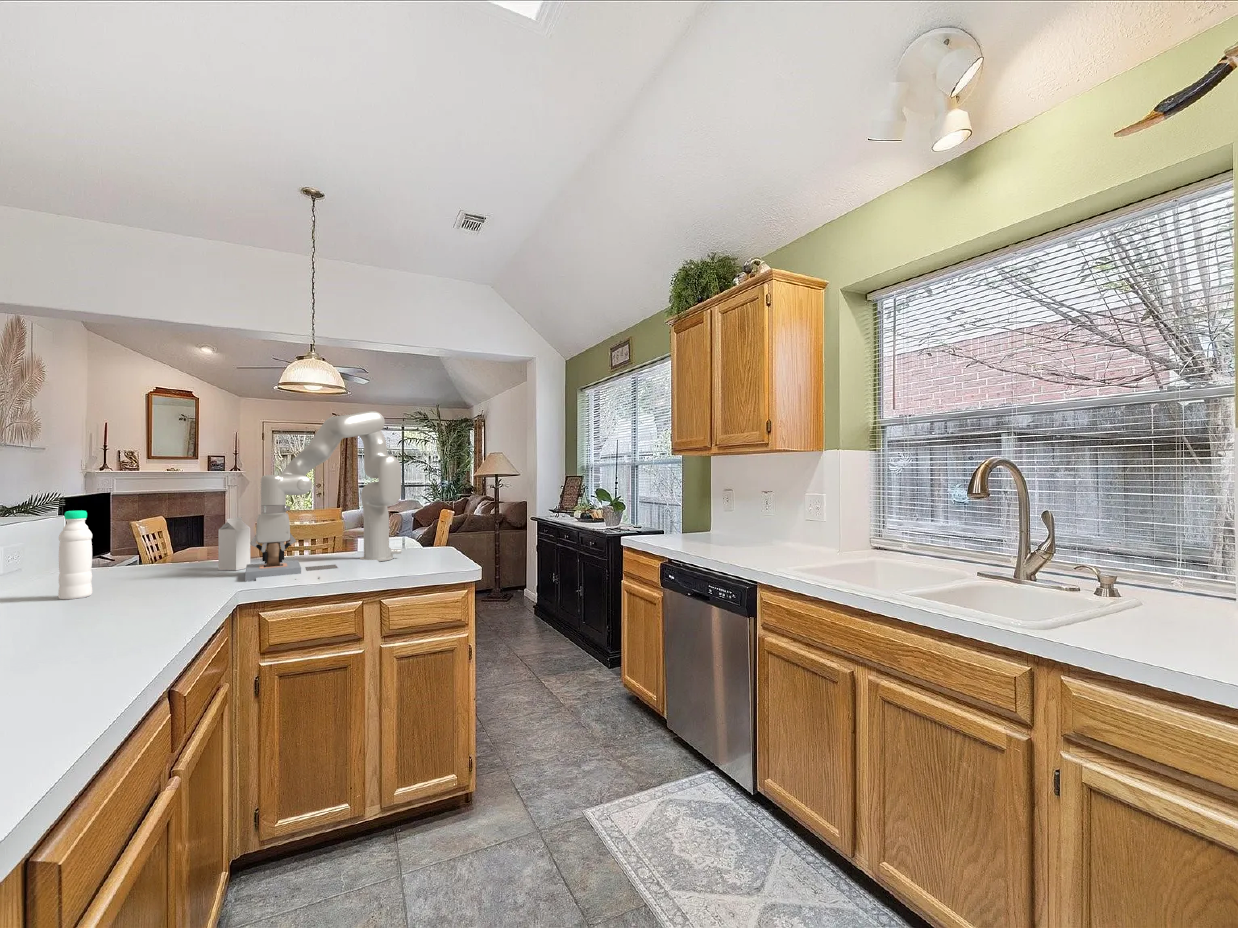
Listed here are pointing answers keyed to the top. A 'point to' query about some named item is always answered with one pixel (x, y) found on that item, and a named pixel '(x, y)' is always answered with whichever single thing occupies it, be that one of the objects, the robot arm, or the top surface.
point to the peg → (273, 554)
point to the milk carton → (233, 545)
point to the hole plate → (271, 570)
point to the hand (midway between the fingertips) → (273, 562)
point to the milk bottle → (75, 557)
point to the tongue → (321, 567)
